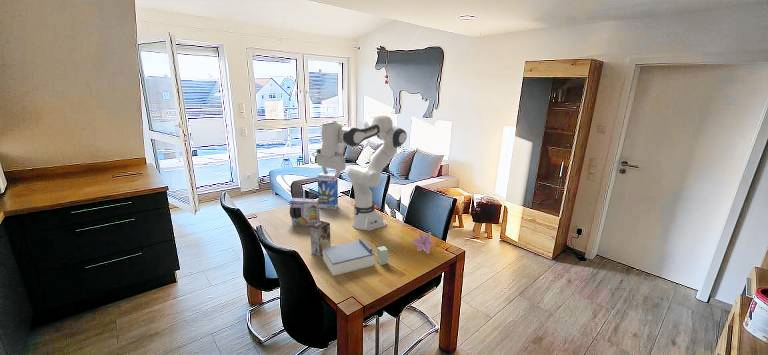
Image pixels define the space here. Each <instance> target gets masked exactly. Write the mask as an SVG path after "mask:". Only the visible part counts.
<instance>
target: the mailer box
mask: <svg viewBox="0 0 768 355" xmlns="http://www.w3.org/2000/svg"><path fill="white" fill-rule="evenodd" d="M322 261H323V262H324V264H325V266H326V267H327V269H328V271H329V272H330V275H331V276H332V277H335V276H340V275H343V274H347V273H351V272H355V271H358V270H359V271H360V270H363V269H366V268H370V267H374V266H375V265H376V264H375V254H374V255H370V256H366V257H362V258H358V259H354V260H350V261H346V262H342V263H338V264H334V265H333V264H332V263H331V261H330V260H329V258H328V257H327V255H326V254H325V252H324V251H323V254H322Z"/></svg>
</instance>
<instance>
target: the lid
mask: <svg viewBox="0 0 768 355" xmlns="http://www.w3.org/2000/svg"><path fill="white" fill-rule="evenodd" d="M323 251H324V252H325V254H326V255H327V257H328V258H329V260H330V261H331V263H332V264H333V265H334V264H338V263H342V262H346V261H350V260H354V259H358V258H362V257H366V256H370V255H375V252H374V251H373V248H372V247H371V246H370V245H369V244H368V242H366V241H365V240H364V239H363V238H362V237H360V238H359V239H358V240H356V241H351V242H347V243H342V244H338V245H337V244H336V245H333V246H332V245H331V247H328V248H323Z"/></svg>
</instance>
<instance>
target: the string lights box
mask: <svg viewBox="0 0 768 355" xmlns="http://www.w3.org/2000/svg"><path fill="white" fill-rule="evenodd" d="M335 174H336V173H334V172H333V173H332V172H328V174H324V172H320V173H318V174H317V191H318V192H317V195H318V197H317V198H318V199H317V200H319V209H329V210H336V209H337V208H338V207H339V202H338V201H339V198H338V197H339V195H338V194H339V193H338V191H339V189H338V188H339V186H338V182H339V181H338V178H339V177H338V178H337V177H335Z"/></svg>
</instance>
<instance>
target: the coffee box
mask: <svg viewBox="0 0 768 355" xmlns="http://www.w3.org/2000/svg"><path fill="white" fill-rule="evenodd" d="M309 231H310V232H309V233H310V247H311V248H310V250H311V251H310V252H311V254H314V255H316V256H319V257H321V255H322V256H323V248H328V247H332V245H331V224H330V222H327V221H324V220H320V222H317V223H315V224H313V225H311V226H309Z"/></svg>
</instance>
